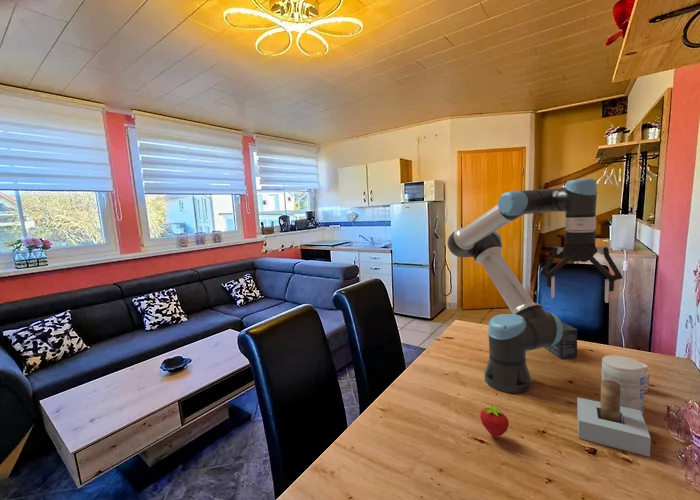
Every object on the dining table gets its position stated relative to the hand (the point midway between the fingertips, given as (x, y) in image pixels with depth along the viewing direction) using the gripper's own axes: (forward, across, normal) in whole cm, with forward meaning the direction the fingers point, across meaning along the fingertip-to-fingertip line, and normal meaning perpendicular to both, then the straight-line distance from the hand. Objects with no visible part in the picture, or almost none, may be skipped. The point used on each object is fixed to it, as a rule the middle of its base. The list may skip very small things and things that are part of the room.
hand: (578, 299), depth 100 cm
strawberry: (+32, -18, -33) cm, 50 cm away
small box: (+32, -6, +33) cm, 47 cm away
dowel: (+32, +7, -16) cm, 36 cm away
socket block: (+32, +7, -16) cm, 36 cm away
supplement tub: (+32, +11, -2) cm, 34 cm away
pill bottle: (+32, +16, +13) cm, 38 cm away
